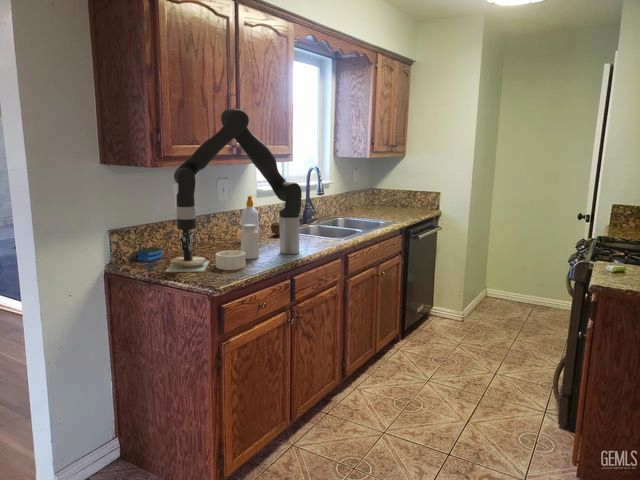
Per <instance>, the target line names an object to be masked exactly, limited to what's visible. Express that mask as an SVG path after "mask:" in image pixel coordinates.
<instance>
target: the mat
mask: <svg viewBox="0 0 640 480" xmlns="http://www.w3.org/2000/svg"><path fill="white" fill-rule="evenodd" d="M209 264H210V260H206V262H205V263H203V264H201V265H196V266H174V265H172V264H171V263H170V265H169V266H168V267H167V268H166V270H164V273H203V272H205V271H206V269H207V267H208V265H209Z"/></svg>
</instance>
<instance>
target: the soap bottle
mask: <svg viewBox="0 0 640 480" xmlns="http://www.w3.org/2000/svg"><path fill="white" fill-rule="evenodd" d="M245 224H254V225H256V228H255V230H256V231H257V232H258V233H259V213H258V210H257V208H255V207H254V201H253V195H252V194H251V195H248V196H247V200H246V206H245V208H244V209H243V210H242V212H241V232H242V231H244V225H245Z"/></svg>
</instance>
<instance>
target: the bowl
mask: <svg viewBox="0 0 640 480" xmlns="http://www.w3.org/2000/svg"><path fill="white" fill-rule="evenodd" d="M246 260H247V259H246V253H245V252H243V251H241V250H222V251H218V252H216V253H215V268H217V269H218V270H224V271H235V270H236V271H237V270H241V269H244V268H246V267H247V265H246V264H247V261H246Z"/></svg>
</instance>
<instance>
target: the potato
mask: <svg viewBox="0 0 640 480" xmlns="http://www.w3.org/2000/svg"><path fill="white" fill-rule="evenodd" d="M270 231H271V233H272V234H275V235H277V236H279V237H280V222H272V223H271V225H270Z"/></svg>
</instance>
